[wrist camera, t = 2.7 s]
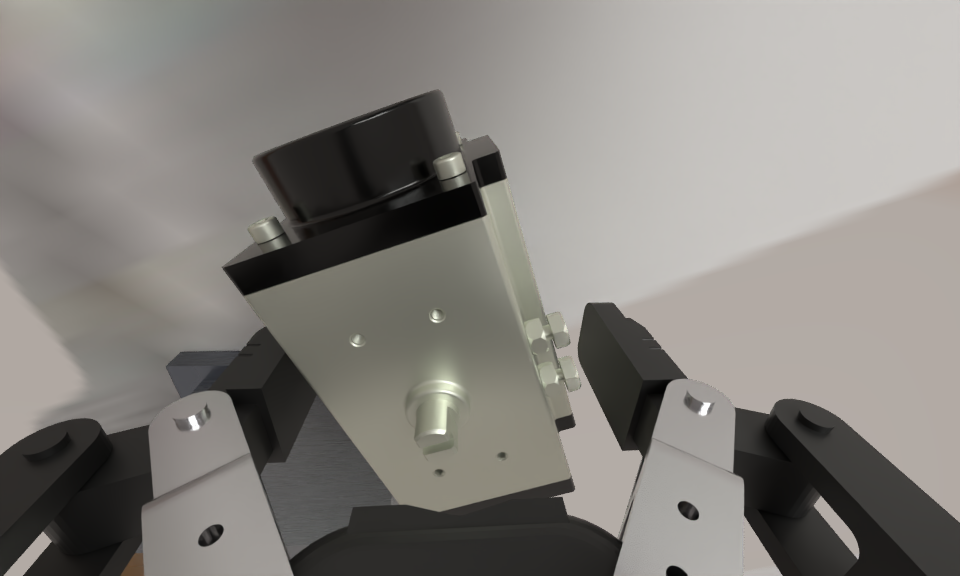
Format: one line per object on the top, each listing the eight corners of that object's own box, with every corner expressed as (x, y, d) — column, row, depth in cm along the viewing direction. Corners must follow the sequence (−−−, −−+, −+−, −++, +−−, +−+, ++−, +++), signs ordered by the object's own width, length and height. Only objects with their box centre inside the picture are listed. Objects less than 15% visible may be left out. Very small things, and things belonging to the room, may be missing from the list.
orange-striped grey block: (180, 351, 20) (-68, 589, 10) (437, 348, 21) (423, 562, 11) (254, 515, 27) (148, 742, 18) (442, 507, 28) (436, 717, 19)
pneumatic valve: (443, 340, 21) (433, 600, 10) (345, 127, 15) (95, 210, 5) (537, 312, 20) (629, 554, 10) (470, 80, 15) (513, 55, 4)
